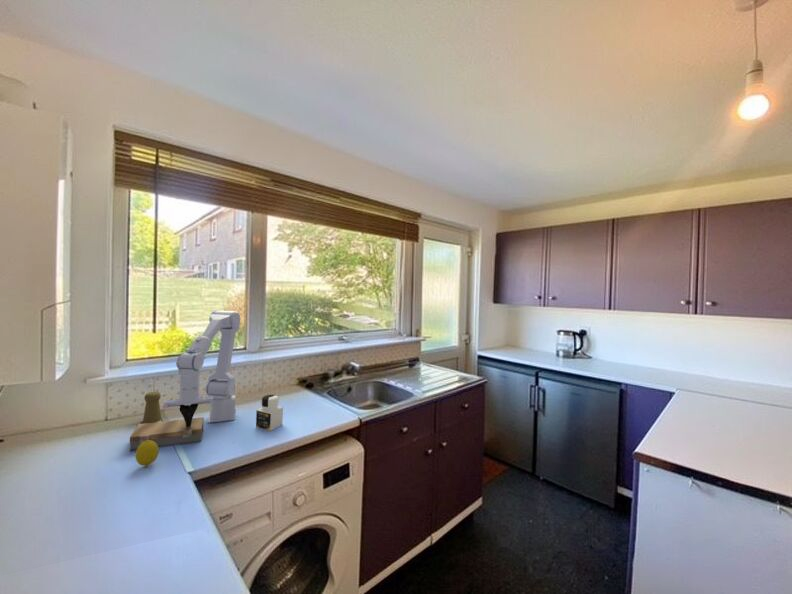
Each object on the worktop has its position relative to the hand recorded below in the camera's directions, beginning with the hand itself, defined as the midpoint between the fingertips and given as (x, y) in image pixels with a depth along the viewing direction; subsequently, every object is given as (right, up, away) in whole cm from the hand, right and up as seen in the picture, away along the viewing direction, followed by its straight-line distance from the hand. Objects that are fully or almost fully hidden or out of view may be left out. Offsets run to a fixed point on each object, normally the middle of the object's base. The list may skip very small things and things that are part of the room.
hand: (188, 425), depth 118 cm
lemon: (-2, -6, -17) cm, 18 cm away
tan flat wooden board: (-6, -2, -1) cm, 7 cm away
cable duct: (-7, -5, 0) cm, 8 cm away
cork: (-24, -4, +15) cm, 28 cm away
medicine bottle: (+23, -6, +15) cm, 28 cm away
